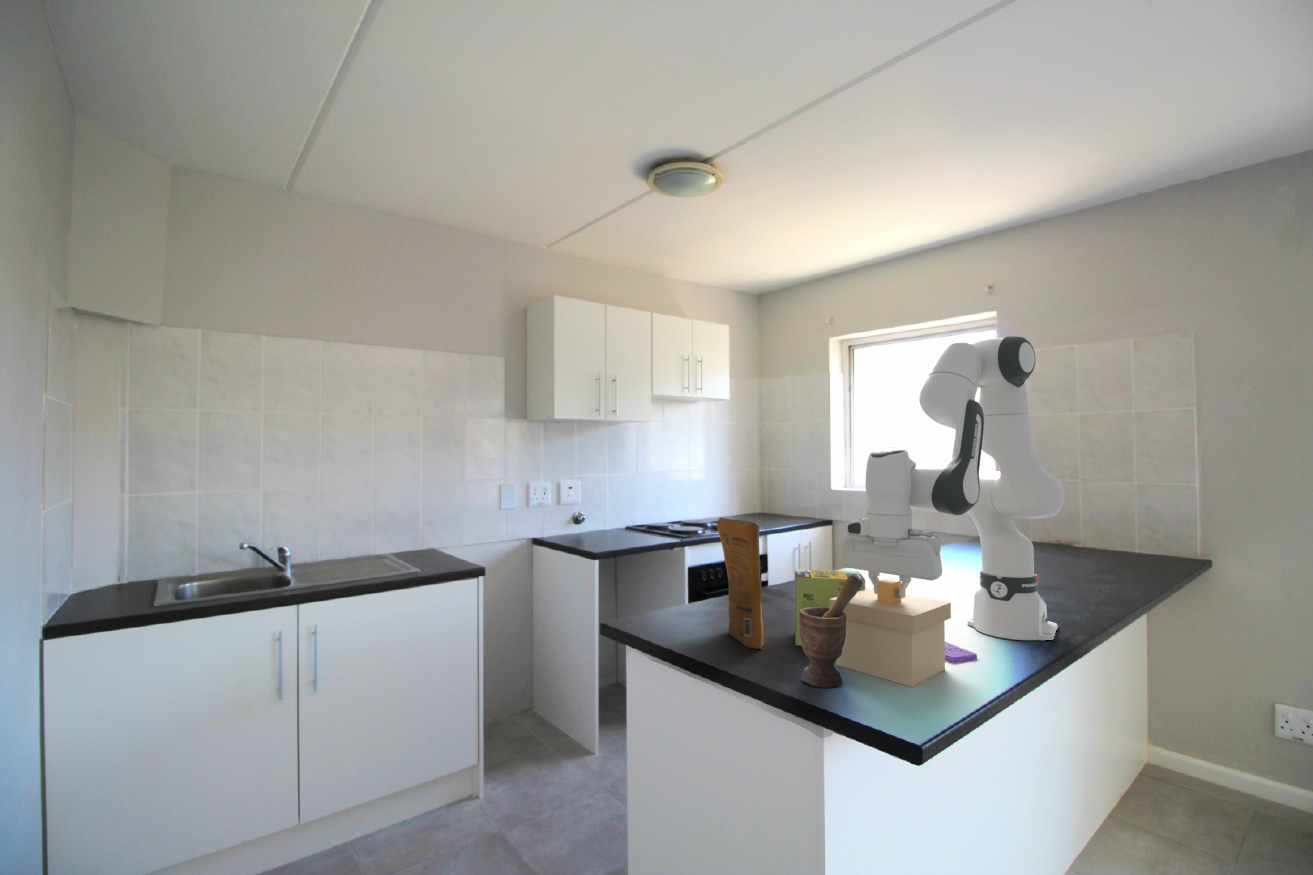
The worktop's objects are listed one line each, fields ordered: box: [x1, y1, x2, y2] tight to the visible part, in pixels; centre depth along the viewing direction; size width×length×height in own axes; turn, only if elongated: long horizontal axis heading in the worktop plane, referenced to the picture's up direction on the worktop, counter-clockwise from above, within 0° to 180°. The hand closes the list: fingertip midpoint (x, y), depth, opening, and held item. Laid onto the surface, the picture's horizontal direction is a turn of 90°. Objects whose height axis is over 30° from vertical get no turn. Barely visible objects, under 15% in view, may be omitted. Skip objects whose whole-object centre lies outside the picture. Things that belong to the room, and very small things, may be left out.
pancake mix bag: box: [716, 517, 765, 650], centre depth 143 cm, size 7×19×28 cm, turn 16°
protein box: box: [794, 569, 866, 647], centre depth 142 cm, size 10×15×16 cm
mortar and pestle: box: [800, 575, 862, 688], centre depth 117 cm, size 12×9×20 cm
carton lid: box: [829, 578, 952, 633], centre depth 124 cm, size 16×18×7 cm
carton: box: [835, 618, 946, 688], centre depth 124 cm, size 14×16×12 cm
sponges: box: [945, 641, 978, 664], centre depth 134 cm, size 7×13×2 cm, turn 19°
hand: (889, 595), depth 124 cm, fingers closed on carton lid, 3 cm apart
